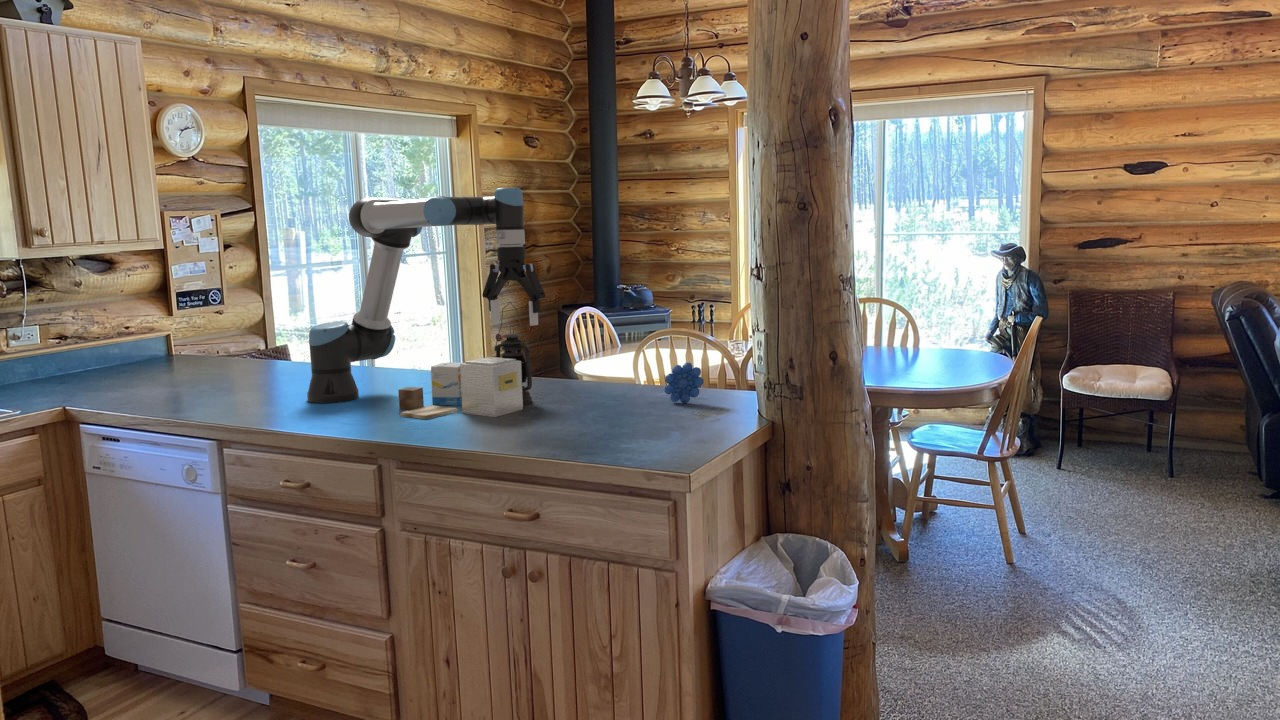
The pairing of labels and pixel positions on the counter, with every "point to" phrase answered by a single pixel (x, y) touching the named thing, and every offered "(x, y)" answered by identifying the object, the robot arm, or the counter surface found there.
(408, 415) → the board
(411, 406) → the walnut block
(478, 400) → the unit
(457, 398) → the ink box
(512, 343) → the lantern
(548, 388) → the counter surface
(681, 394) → the blue flower
